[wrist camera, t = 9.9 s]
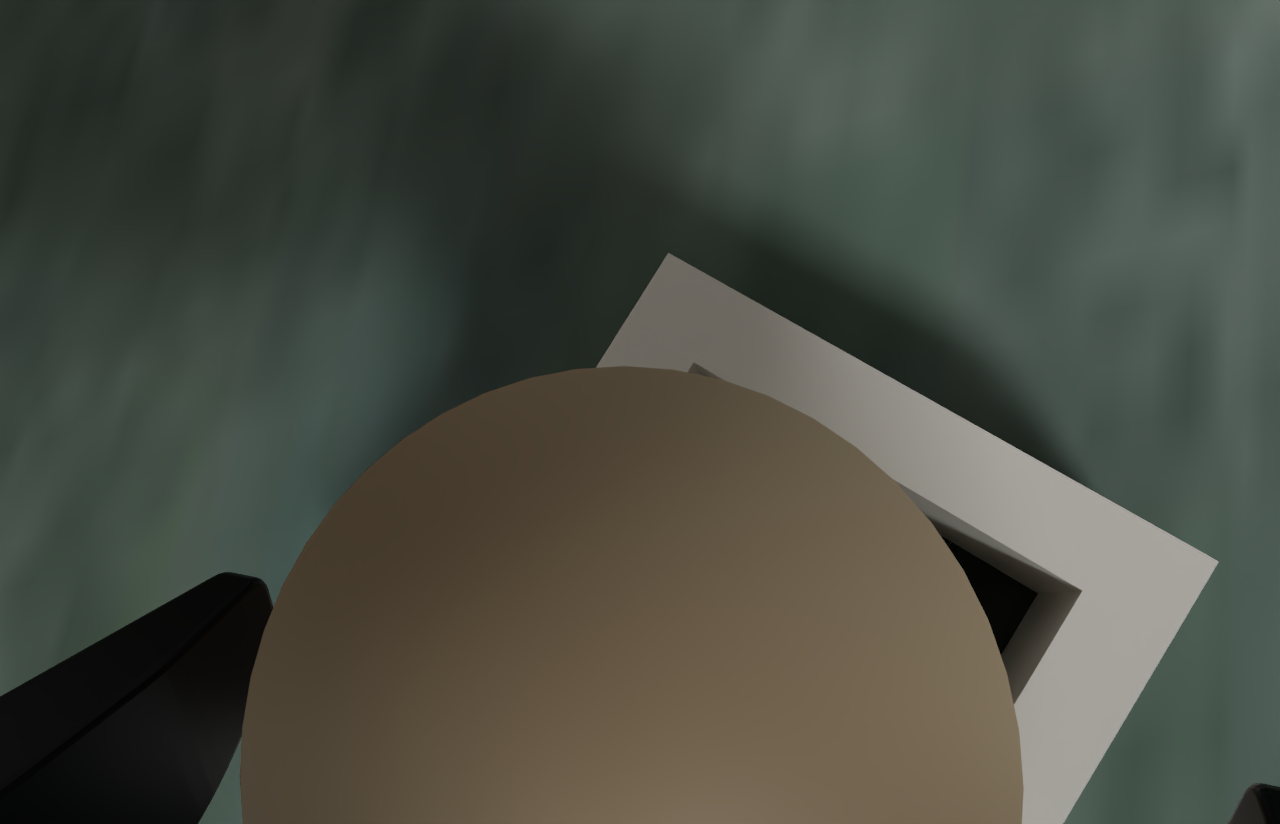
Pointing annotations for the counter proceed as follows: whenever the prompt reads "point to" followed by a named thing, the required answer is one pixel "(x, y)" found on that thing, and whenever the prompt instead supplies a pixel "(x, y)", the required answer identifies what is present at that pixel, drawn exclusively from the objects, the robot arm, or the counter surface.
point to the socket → (964, 519)
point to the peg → (628, 628)
